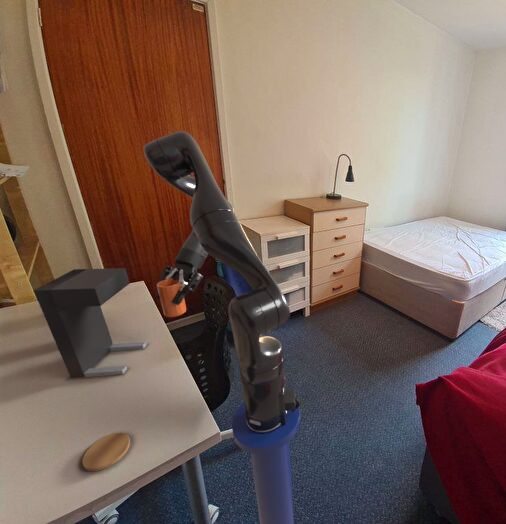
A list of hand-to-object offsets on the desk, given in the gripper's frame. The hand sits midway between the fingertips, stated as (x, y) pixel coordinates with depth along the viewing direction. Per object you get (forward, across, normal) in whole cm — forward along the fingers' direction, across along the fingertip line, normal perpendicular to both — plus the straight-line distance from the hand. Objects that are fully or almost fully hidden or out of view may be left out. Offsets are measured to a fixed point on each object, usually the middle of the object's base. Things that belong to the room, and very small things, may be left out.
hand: (167, 301), depth 83 cm
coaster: (+33, +16, -9) cm, 38 cm away
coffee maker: (+20, -13, +4) cm, 24 cm away
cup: (+2, 0, +4) cm, 5 cm away
